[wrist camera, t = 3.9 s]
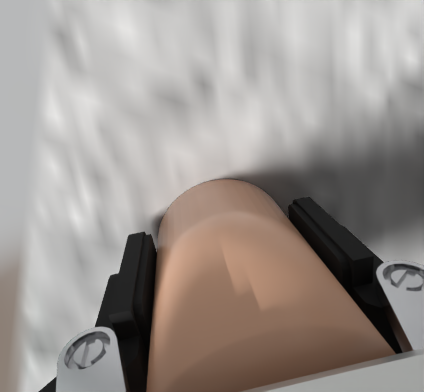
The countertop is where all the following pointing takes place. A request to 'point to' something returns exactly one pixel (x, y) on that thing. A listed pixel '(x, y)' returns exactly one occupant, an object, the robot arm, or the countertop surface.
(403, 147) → the countertop surface
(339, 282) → the robot arm
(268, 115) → the countertop surface
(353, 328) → the terracotta cylinder
